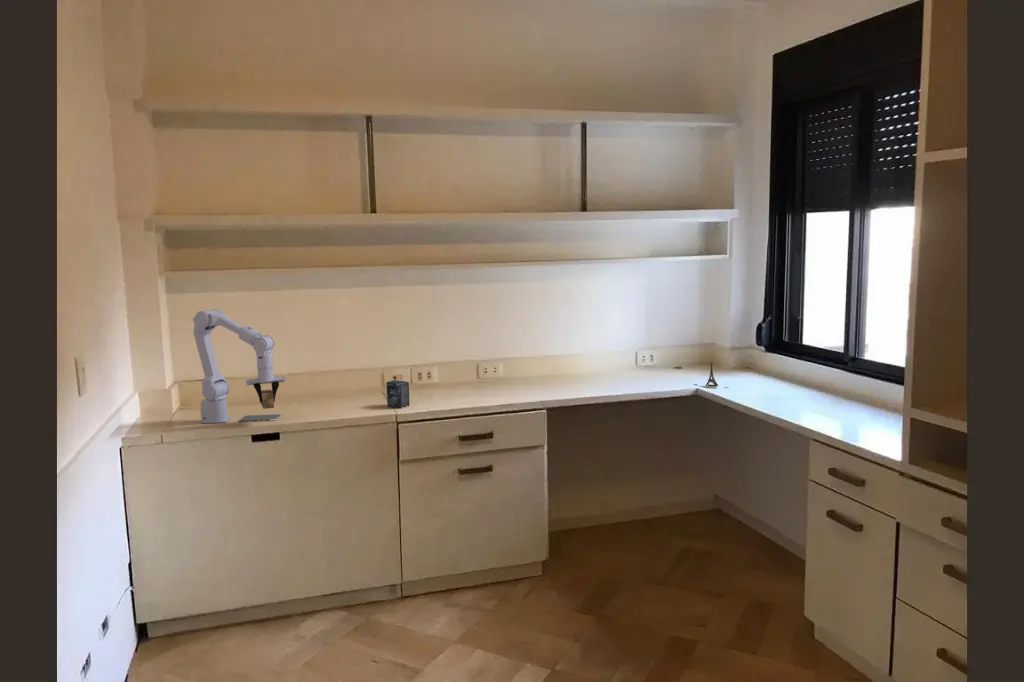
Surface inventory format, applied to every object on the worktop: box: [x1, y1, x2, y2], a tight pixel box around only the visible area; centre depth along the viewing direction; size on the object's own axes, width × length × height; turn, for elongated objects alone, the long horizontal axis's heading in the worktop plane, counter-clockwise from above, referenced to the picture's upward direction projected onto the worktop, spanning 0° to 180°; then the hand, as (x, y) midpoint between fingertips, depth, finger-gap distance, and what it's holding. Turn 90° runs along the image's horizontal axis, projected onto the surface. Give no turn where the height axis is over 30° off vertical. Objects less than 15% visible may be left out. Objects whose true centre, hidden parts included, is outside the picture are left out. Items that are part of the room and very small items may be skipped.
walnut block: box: [260, 389, 275, 410], centre depth 295 cm, size 4×9×6 cm, turn 23°
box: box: [386, 379, 411, 409], centre depth 320 cm, size 8×6×11 cm
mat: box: [238, 413, 281, 423], centre depth 304 cm, size 14×9×1 cm, turn 94°
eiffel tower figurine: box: [693, 359, 729, 390], centre depth 348 cm, size 15×10×13 cm
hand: (267, 401), depth 295 cm, fingers closed on walnut block, 4 cm apart
